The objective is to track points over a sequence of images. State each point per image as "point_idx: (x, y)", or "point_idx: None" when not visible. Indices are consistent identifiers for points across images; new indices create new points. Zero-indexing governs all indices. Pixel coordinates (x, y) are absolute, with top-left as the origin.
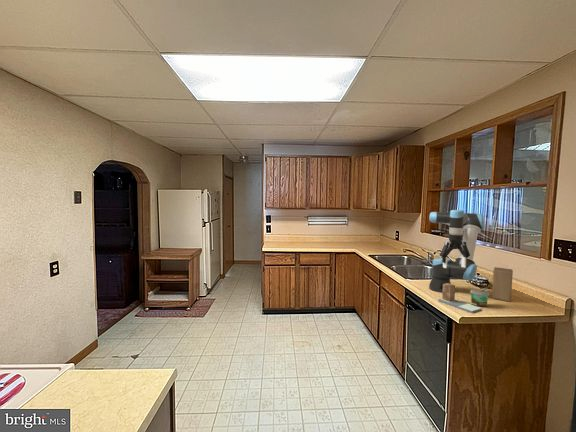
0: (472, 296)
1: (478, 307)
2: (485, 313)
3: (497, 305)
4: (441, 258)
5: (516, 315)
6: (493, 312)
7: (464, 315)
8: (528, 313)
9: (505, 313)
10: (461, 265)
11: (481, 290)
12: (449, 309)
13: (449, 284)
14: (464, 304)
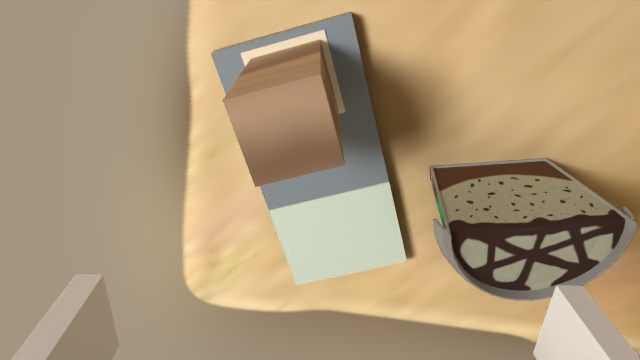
0: (439, 212)
1: (396, 249)
2: (380, 290)
3: (612, 204)
4: None
5: (531, 333)
6: (445, 286)
7: (223, 292)
8: (636, 325)
9: (502, 306)
10: (568, 305)
11: (553, 241)
12: (193, 208)
13: (298, 127)
14: (349, 188)
